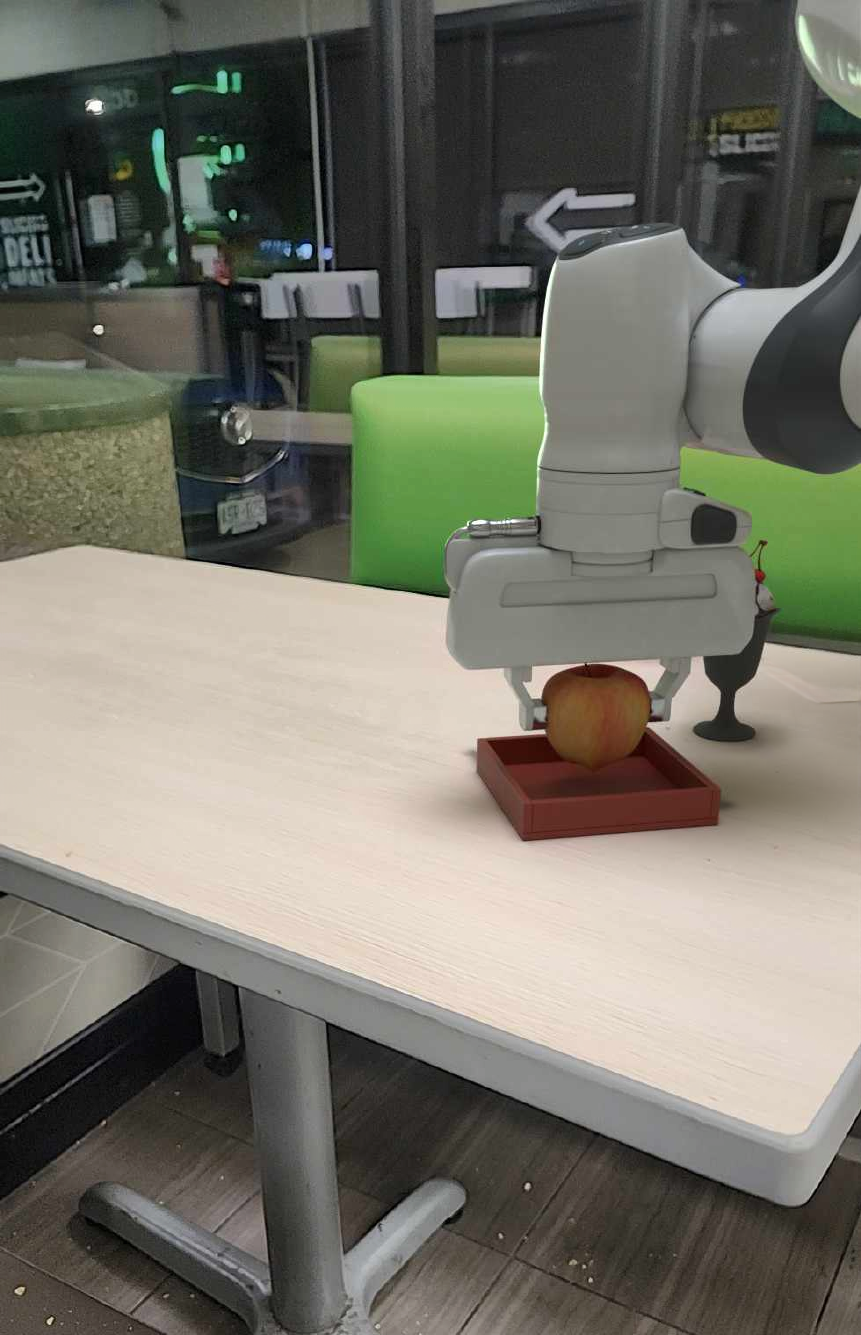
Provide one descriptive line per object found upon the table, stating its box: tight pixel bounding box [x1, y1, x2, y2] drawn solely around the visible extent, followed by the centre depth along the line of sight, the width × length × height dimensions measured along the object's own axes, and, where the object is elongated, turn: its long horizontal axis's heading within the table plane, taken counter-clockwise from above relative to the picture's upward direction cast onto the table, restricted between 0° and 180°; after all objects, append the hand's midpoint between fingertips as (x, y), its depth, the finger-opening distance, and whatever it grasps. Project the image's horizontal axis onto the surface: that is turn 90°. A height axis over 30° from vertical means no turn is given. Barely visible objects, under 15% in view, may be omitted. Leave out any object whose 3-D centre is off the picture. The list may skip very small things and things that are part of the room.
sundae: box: [692, 539, 782, 742], centre depth 91 cm, size 7×7×15 cm
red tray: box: [476, 726, 722, 841], centre depth 80 cm, size 13×13×2 cm
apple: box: [540, 663, 650, 772], centre depth 79 cm, size 7×7×8 cm
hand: (595, 724), depth 79 cm, fingers closed on apple, 7 cm apart
